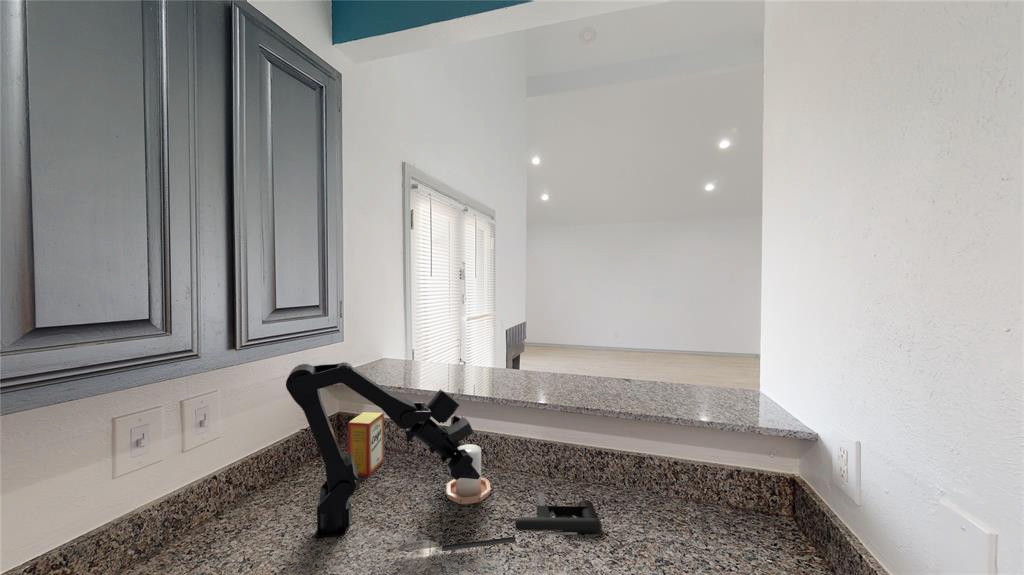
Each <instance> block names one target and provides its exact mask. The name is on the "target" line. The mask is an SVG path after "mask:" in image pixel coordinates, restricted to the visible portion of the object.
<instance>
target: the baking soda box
mask: <svg viewBox="0 0 1024 575" xmlns="http://www.w3.org/2000/svg"><path fill="white" fill-rule="evenodd" d="M384 415H385V412H380V411H379V412H378V411H364V412H362V413H360V414H359V415H357V416H356V417H354V418H353V419H351V420H349V422H347V456H348V455H349V454H351V453H352V458H353V462H354V464H355V465H356V466H357V472H358V475H361V477H370V476H371V475H372V474H373V473H374V472H375V471H376V470H377V469H378V468H379V466H380V465H381V464H382V463H384V461H385V448H384V447H385V445H384V443H385V442H384V441H385V440H384V439H385V438H384V436H385V433H384V432H385V430H384V429H385V426H384V425H385V422H384V421H385V416H384ZM370 474H371V475H370Z"/></svg>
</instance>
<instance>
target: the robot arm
mask: <svg viewBox="0 0 1024 575" xmlns="http://www.w3.org/2000/svg"><path fill="white" fill-rule="evenodd" d="M337 384H343V385H345V386H346V387H348V388H349V389H351V390H352V391H353V392H355V393H357V394H358V395H360V396H361V397H363V398H364V399H366V400H368V401H369V402H370V403H372V404H374V405H375V406H377V407H378V408H379V409H381V410H382V411H383V413H384V414H386V416H387V417H388V418H389V419H390V420H391V421H392V422H393V423H395V425H396V426H397V427H398V428H399V429H400V430H401V429H402V430H403V431H404V435H403V436H404V439H405V442H406V443H410V442H411V441H412V439H413V438H415V439H416V440H418V441H419V442H420V443H421V444H423V445H424V446H425V447H426V448H428V450H429V452H430V453H431V454H435V455H436V456H438V458H439V459H440V460H441V462H442V463H445V462H446V461H447V460H449V459H451V460H450V461H449V462H448V463H447V464H446V465H447V466H446V467H447V469H446V470H447V472H448V475H450V477H451V478H453V479H455V480H458V479H459V478H468V479H479V478H480V475H479V473H478V472H477V471H476V469H475V468H474V467H473V466H472V462H473V458H472V457H471V455H470V454H469V453H468V452H467V451H466V450H465V449H462V450H459V449H458V447H460V446H461V441H462V440H464V439H465V438H467V437H469V436H471V435H472V434H473V433H474V430H473V427H472V425H471V424H470V422H469V420H468V419H467V418H466V417H463V416H461V417H459V416H458V415H456V414H455V412H456V411H457V410H458V409H459V408H460V406H461V404H460V403H458V401H456V399H454V397H452V396H451V395H450V394H449V393H446V392H445V391H444V390H443V389H441V388H440V389H439V390H438V391H437V393H436V394H435V396H434V397H433V398H432V399H431V400H430V401H429V402H428V403H426V402H420V401H419V402H414V401H412V400H411V399H409V398H407V397H404V396H401V395H399V394H395V393H393V392H390V391H388V390H387V389H386V388H384V387H382V386H381V385H379V384H378V383H376V381H374V380H372V379H371V378H370V377H368V376H367V375H365V374H364V373H361V371H358V369H356V368H354V366H352V364H350V363H348V362H346V361H345V362H344V361H343V362H339V363H332V364H331V363H330V364H318V365H311V364H309V363H302V364H298V365H296V366H295V367H293V369H292V370H291V371H290V373H289V375H288V377H287V379H286V380H285V387H286V390H287V391H288V393H289V395H290V397H291V398H292V399H293V401H294V402H295V403H296V404H297V405H298V407H299V408H300V409H302V412H303V413H304V416H305V418H306V420H307V424H308V426H309V428H310V431H311V433H312V437H313V438H314V441H315V444H316V445H317V446H316V447H317V448H318V451H319V453H320V455H321V457H322V461H323V463H324V466H325V467H324V468H325V476H326V480H325V482H323V484H322V485H321V486H320V488H319V495H318V496H319V498H318V504H317V506H316V531H315V534H314V538H315V539H320V538H327V537H337V536H338V537H339V536H344V535H345V534H346V533H347V529H348V528H349V527H350V525H351V523H352V522H351V521H352V517H353V515H352V513H353V511H352V510H353V509H352V508H353V507H352V503H351V502H350V498H351V497H352V495H353V494H355V491H356V488H357V481H358V480H359V476H358V472H357V466H356V465H355V464H354V462H353V458H352V453H351V454H349V455H348V454H347V455H346V454H344V452H343V451H342V449H341V446H340V444H339V442H338V439H337V437H336V434H335V431H334V429H333V426H332V424H331V421H330V419H329V416H328V413H327V411H326V408H325V406H324V404H323V400H322V395H321V389H324V388H327V387H330V386H334V385H337ZM454 414H455V415H454ZM433 419H434V420H435V421H434V420H433ZM448 420H450V424H449V427H447V428H446V426H442V425H441V426H440V425H439V424H441V423H442V424H445V423H447V422H448ZM437 423H438V424H437Z"/></svg>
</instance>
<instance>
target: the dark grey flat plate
mask: <svg viewBox="0 0 1024 575" xmlns="http://www.w3.org/2000/svg"><path fill="white" fill-rule="evenodd" d="M514 542H516V537H515V536H510V537H500V538H493V539H485V540H484V539H483V540H478V541H476V540H475V541H470V542H462V543H454V544H446V545H442V546H441V552H446V551H453V550H460V549H461V550H463V549H468V548H477V547H485V546H491V545H492V546H493V545H500V544H509V543H514Z"/></svg>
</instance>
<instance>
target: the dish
mask: <svg viewBox="0 0 1024 575" xmlns="http://www.w3.org/2000/svg"><path fill="white" fill-rule="evenodd" d="M491 491H492V488H491V484H490V481H489V479H487V478H485V477H482V476H481V492H480V493H479V494H478V495H476V496H472V497H461V496H459V495H457V493H456V480H455V479H454V478H453V479H452V480H451V481H449V482H446V490H445V495H446V498H447V499H449V500H450V501H451V502H454V503H456V504H459V505H460V504H461V505H463V504H465V505H467V504H474V503H475V504H476V503H480V502H481V501H483V500H485V499H487V497H488V496H490V495H491V493H492V492H491Z"/></svg>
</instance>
